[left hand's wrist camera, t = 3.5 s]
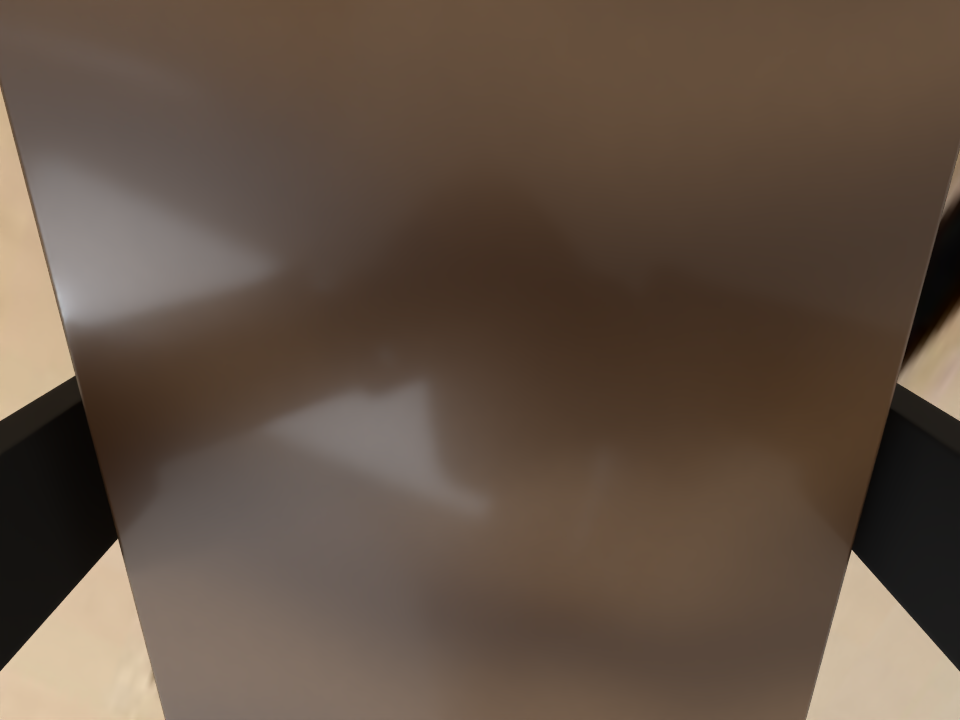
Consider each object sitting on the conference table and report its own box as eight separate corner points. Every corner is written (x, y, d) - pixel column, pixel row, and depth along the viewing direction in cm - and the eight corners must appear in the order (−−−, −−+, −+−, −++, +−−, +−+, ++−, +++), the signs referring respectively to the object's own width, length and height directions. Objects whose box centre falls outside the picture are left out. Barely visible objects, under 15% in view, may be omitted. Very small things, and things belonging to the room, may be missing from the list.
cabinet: (227, -303, 13) (-381, -1356, 4) (741, -303, 13) (1373, -1359, 4) (314, 468, 20) (171, 755, 11) (651, 468, 20) (798, 755, 11)
